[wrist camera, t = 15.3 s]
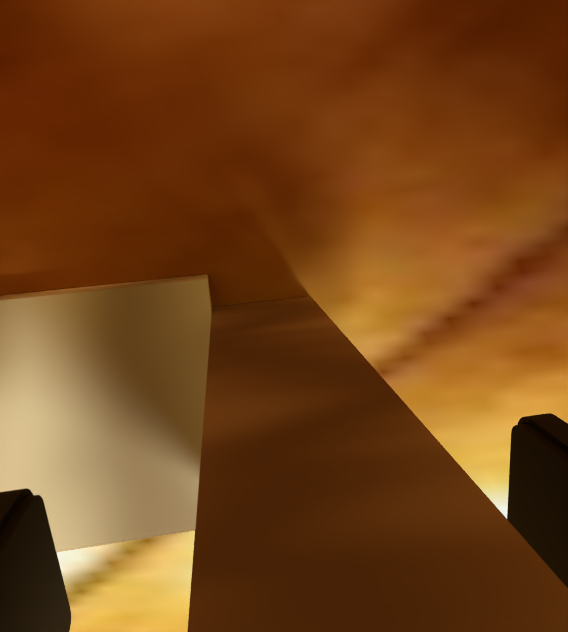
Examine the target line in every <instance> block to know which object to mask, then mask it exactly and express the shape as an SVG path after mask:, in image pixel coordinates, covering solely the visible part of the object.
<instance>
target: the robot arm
mask: <svg viewBox="0 0 568 632" xmlns="http://www.w3.org/2000/svg"><path fill="white" fill-rule="evenodd" d="M507 520H508V521H509V522H510V523H511V524H512V526H513V527H514V528H515V529H516V530H517V531H518V532H519V534H520V535H521V536H522V537H523V538H524V539H525V540H526V541H527V543H528V544H529V545H530V546H531V547H532V548H533V549H534V551H535V552H536V553H537V554H538V555H539V556H540V557H541V558H542V560H543V561H544V562H545V563H546V564H547V565H548V566H549V568H550V569H551V570H552V571H553V572H554V573H555V574H556V576H557V577H558V578H559V579H560V580H561V581H562V582H563V583H564V585H565V586H566V587H567V588H568V424H567V423H566V422H564V421H563V420H561V419H560V418H558V417H557V416H555V415H553V414H541V415H534V416H527V417H522V418H521V419H520V420H519V422H518V425H515V426H514V427H513V429H512V433H511V452H510V473H509V495H508V516H507ZM70 624H71V611H70V606H69V602H68V598H67V594H66V590H65V586H64V582H63V578H62V574H61V570H60V565H59V561H58V557H57V553H56V549H55V545H54V541H53V537H52V533H51V529H50V525H49V521H48V517H47V513H46V509H45V505H44V501H43V499H42V497H41V496H40V495H33V493H32V492H31V490H30V489H27V488H25V489H18V490H11V491H4V492H0V632H69V630H70Z"/></svg>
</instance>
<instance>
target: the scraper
mask: <svg viewBox="0 0 568 632" xmlns="http://www.w3.org/2000/svg"><path fill="white" fill-rule="evenodd" d="M25 488H27V489H30V490H31V492H32V493H33V495H40V496H41V497H42V499H43V501H44V505H45V509H46V513H47V517H48V521H49V525H50V529H51V533H52V537H53V541H54V545H55V549H56V552H61V551H67V550H73V549H80V548H86V547H92V546H99V545H105V544H111V543H118V542H124V541H130V540H137V539H143V538H149V537H156V536H162V535H168V534H175V533H181V532H187V531H194V530H195V541H194V554H193V568H192V581H191V594H190V608H189V621H188V632H568V588H567V587H566V586H565V585H564V583H563V582H562V581H561V580H560V579H559V578H558V577H557V576H556V574H555V573H554V572H553V571H552V570H551V569H550V568H549V566H548V565H547V564H546V563H545V562H544V561H543V560H542V558H541V557H540V556H539V555H538V554H537V553H536V552H535V551H534V549H533V548H532V547H531V546H530V545H529V544H528V543H527V541H526V540H525V539H524V538H523V537H522V536H521V535H520V534H519V532H518V531H517V530H516V529H515V528H514V527H513V526H512V524H511V523H510V522H509V521H508V520H507V519H506V518H505V517H504V515H503V514H502V513H501V512H500V511H499V510H498V509H497V507H496V506H495V505H494V504H493V503H492V502H491V501H490V499H489V498H488V497H487V496H486V495H485V494H484V493H483V492H482V490H481V489H480V488H479V487H478V486H477V485H476V484H475V482H474V481H473V480H472V479H471V478H470V477H469V476H468V475H467V473H466V472H465V471H464V470H463V469H462V468H461V467H460V465H459V464H458V463H457V462H456V461H455V460H454V459H453V457H452V456H451V455H450V454H449V453H448V452H447V451H446V450H445V448H444V447H443V446H442V445H441V444H440V443H439V442H438V440H437V439H436V438H435V437H434V436H433V435H432V434H431V433H430V431H429V430H428V429H427V428H426V427H425V426H424V425H423V423H422V422H421V421H420V420H419V419H418V418H417V417H416V416H415V414H414V413H413V412H412V411H411V410H410V409H409V408H408V406H407V405H406V404H405V403H404V402H403V401H402V400H401V398H400V397H399V396H398V395H397V394H396V393H395V392H394V391H393V389H392V388H391V387H390V386H389V385H388V384H387V383H386V381H385V380H384V379H383V378H382V377H381V376H380V375H379V374H378V372H377V371H376V370H375V369H374V368H373V367H372V366H371V364H370V363H369V362H368V361H367V360H366V359H365V358H364V356H363V355H362V354H361V353H360V352H359V351H358V350H357V349H356V347H355V346H354V345H353V344H352V343H351V342H350V341H349V339H348V338H347V337H346V336H345V335H344V334H343V333H342V332H341V330H340V329H339V328H338V327H337V326H336V325H335V324H334V322H333V321H332V320H331V319H330V318H329V317H328V316H327V314H326V313H325V312H324V311H323V310H322V309H321V308H320V307H319V305H318V304H317V303H316V302H315V301H314V300H313V299H312V297H311V296H309V297H299V298H290V299H281V300H272V301H263V302H254V303H245V304H236V305H227V306H218V307H212V303H211V295H210V287H209V279H208V274H205V275H195V276H186V277H176V278H166V279H157V280H147V281H137V282H127V283H118V284H108V285H98V286H88V287H79V288H69V289H59V290H50V291H40V292H30V293H20V294H11V295H1V296H0V492H4V491H11V490H18V489H25Z"/></svg>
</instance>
